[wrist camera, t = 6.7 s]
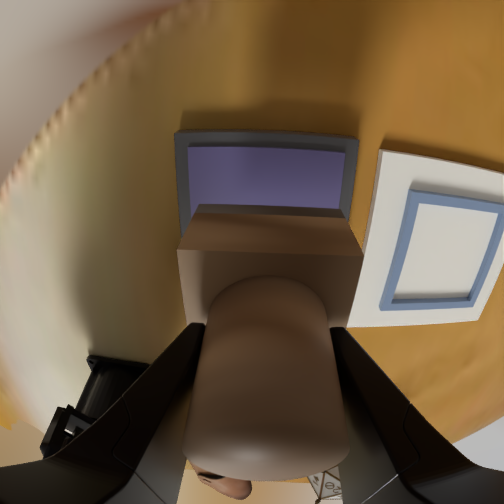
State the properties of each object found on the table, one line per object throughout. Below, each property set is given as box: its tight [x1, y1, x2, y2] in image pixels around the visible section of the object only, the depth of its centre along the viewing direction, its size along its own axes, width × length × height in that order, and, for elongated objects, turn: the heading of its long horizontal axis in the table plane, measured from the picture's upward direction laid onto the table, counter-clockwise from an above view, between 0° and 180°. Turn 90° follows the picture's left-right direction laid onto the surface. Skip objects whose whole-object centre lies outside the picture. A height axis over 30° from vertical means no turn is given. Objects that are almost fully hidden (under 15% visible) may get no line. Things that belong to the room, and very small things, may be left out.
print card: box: [347, 149, 504, 327], centre depth 18 cm, size 12×12×1 cm
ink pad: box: [174, 129, 359, 239], centre depth 17 cm, size 9×9×1 cm
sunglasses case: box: [189, 461, 252, 500], centre depth 35 cm, size 18×7×7 cm
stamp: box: [177, 204, 364, 481], centre depth 9 cm, size 5×5×8 cm
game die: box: [307, 464, 342, 504], centre depth 28 cm, size 9×8×10 cm
